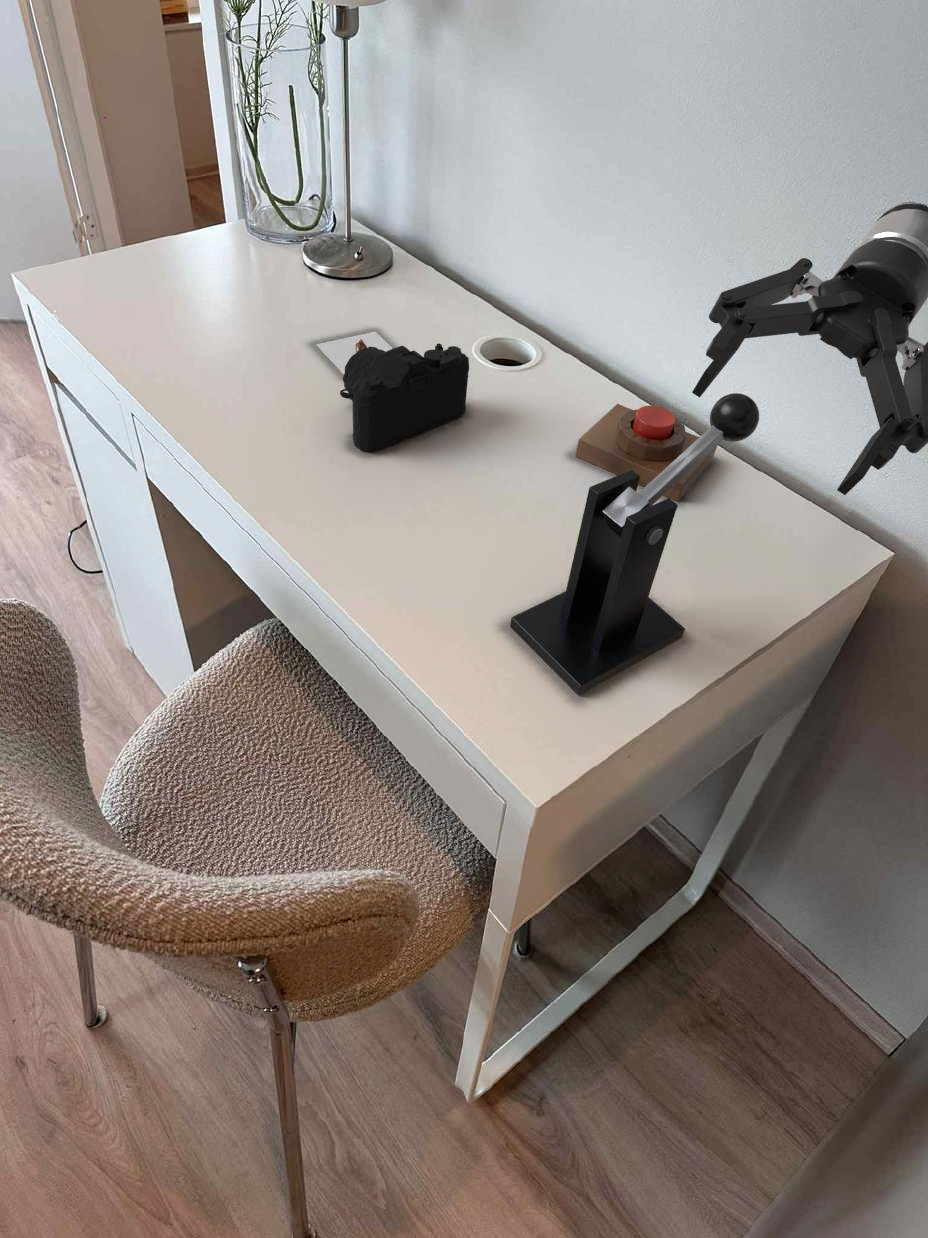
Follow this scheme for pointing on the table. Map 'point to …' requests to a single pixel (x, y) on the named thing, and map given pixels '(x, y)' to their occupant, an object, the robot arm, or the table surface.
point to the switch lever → (689, 457)
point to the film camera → (403, 393)
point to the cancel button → (653, 422)
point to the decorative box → (351, 347)
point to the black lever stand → (605, 595)
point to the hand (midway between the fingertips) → (774, 433)
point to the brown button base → (638, 450)
